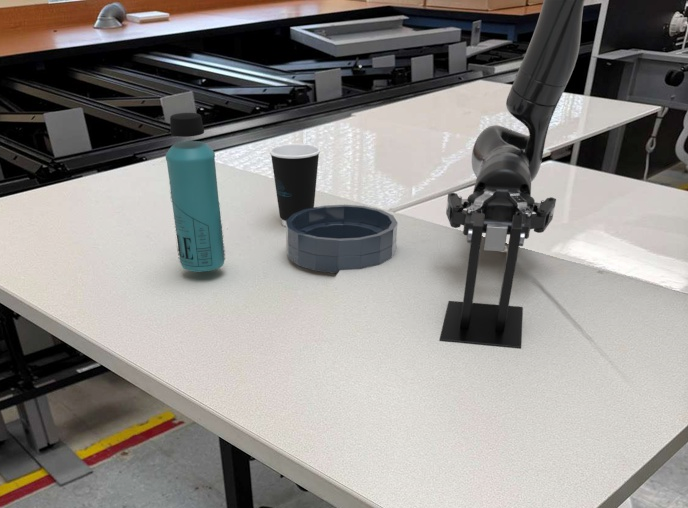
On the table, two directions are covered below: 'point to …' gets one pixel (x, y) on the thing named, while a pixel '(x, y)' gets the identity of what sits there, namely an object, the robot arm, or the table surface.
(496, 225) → the tap lever
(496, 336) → the bracket
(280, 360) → the table surface
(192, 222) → the beverage bottle
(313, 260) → the grey shallow bowl
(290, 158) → the dixie cup
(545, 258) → the table surface
